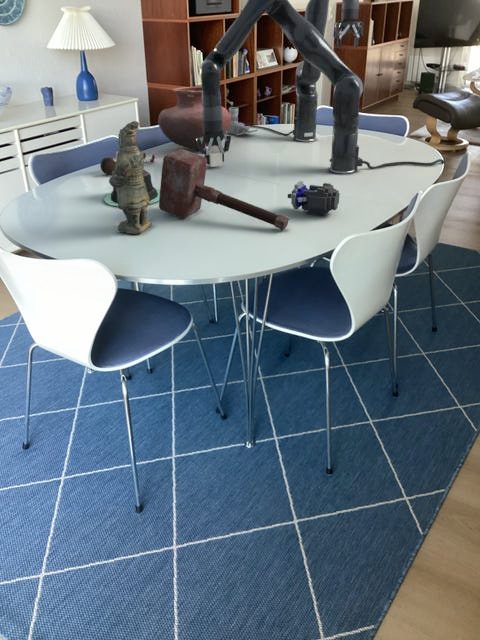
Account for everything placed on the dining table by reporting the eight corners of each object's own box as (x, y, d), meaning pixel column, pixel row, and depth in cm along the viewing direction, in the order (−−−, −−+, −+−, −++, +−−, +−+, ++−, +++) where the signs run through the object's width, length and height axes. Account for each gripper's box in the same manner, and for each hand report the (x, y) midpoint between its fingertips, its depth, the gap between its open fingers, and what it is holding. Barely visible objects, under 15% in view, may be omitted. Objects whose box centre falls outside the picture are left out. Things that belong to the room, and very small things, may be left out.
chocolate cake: (91, 202, 180) (113, 186, 197) (142, 231, 182) (160, 212, 199) (107, 162, 172) (129, 148, 190) (160, 192, 174) (177, 176, 192)
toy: (295, 178, 172) (342, 184, 166) (295, 205, 177) (340, 211, 171) (285, 186, 166) (333, 192, 160) (284, 213, 170) (331, 220, 164)
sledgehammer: (299, 190, 156) (179, 147, 167) (285, 200, 148) (161, 154, 160) (286, 244, 166) (174, 200, 177) (272, 256, 158) (156, 209, 170)
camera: (234, 105, 269) (258, 109, 260) (235, 130, 275) (258, 135, 266) (222, 108, 263) (246, 112, 254) (223, 134, 269) (246, 138, 260)
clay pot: (236, 141, 255) (235, 83, 242) (223, 158, 229) (221, 93, 216) (172, 140, 260) (168, 82, 247) (152, 156, 234) (146, 93, 221)
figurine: (161, 151, 222) (115, 157, 203) (161, 170, 225) (116, 178, 206) (137, 147, 228) (90, 152, 209) (137, 166, 232) (91, 173, 212)
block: (218, 162, 220) (218, 150, 218) (222, 165, 216) (222, 153, 213) (207, 163, 219) (206, 152, 216) (211, 167, 214) (210, 154, 212)
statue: (131, 220, 168) (117, 116, 152) (158, 224, 164) (147, 118, 149) (109, 233, 159) (93, 124, 144) (138, 237, 156) (124, 126, 140)
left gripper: (360, 7, 257) (356, 46, 265) (332, 8, 253) (330, 47, 261) (368, 7, 251) (364, 47, 259) (339, 8, 247) (337, 48, 255)
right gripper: (227, 114, 213) (229, 159, 222) (191, 118, 210) (194, 163, 218) (233, 118, 207) (235, 163, 216) (196, 121, 203) (199, 168, 212)
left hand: (347, 47), depth 260 cm, fingers open, 8 cm apart
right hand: (214, 163), depth 217 cm, fingers closed on block, 4 cm apart
